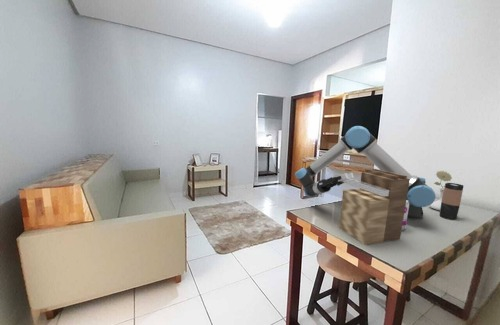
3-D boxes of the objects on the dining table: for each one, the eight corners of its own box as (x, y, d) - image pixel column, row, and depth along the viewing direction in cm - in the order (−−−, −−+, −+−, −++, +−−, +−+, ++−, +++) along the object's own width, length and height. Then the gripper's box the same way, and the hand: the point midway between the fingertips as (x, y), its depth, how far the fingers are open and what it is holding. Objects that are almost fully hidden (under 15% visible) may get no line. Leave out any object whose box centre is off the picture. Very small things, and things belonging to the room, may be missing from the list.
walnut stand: (338, 227, 103) (345, 169, 98) (370, 223, 108) (377, 168, 104) (365, 244, 88) (374, 177, 83) (399, 239, 93) (410, 175, 89)
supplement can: (405, 233, 99) (410, 203, 97) (385, 228, 103) (389, 199, 101) (404, 226, 106) (408, 199, 104) (385, 222, 110) (389, 195, 108)
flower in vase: (457, 213, 127) (466, 174, 122) (439, 212, 127) (446, 173, 123) (438, 205, 139) (445, 169, 135) (421, 205, 140) (428, 169, 136)
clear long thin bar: (333, 178, 111) (333, 174, 111) (337, 178, 112) (338, 174, 112) (382, 196, 83) (383, 190, 83) (388, 196, 84) (389, 190, 84)
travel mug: (460, 221, 116) (467, 186, 112) (444, 219, 117) (451, 185, 114) (450, 215, 123) (457, 183, 120) (435, 214, 124) (441, 182, 121)
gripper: (334, 192, 124) (364, 182, 103) (311, 193, 120) (338, 183, 98) (331, 180, 127) (360, 167, 106) (308, 181, 122) (334, 168, 101)
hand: (349, 175), depth 102 cm, fingers closed on clear long thin bar, 3 cm apart
